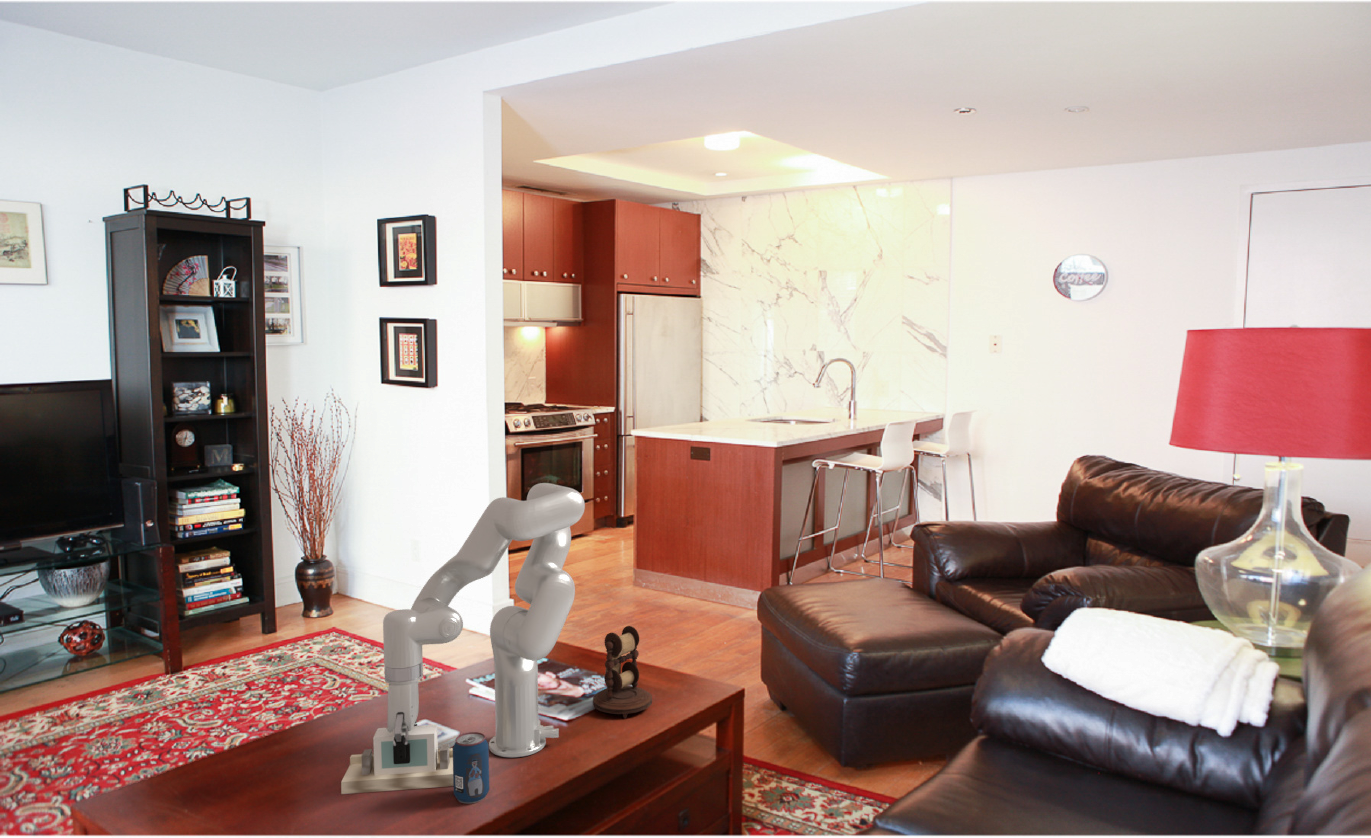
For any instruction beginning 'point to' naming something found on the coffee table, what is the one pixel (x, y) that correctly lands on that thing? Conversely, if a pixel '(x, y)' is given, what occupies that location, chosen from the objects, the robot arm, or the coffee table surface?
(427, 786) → the ledge
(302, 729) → the coffee table surface
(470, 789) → the soda can
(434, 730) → the white block
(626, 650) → the thread spool stand
